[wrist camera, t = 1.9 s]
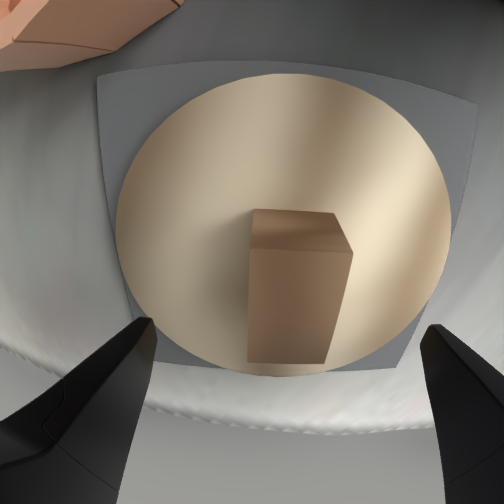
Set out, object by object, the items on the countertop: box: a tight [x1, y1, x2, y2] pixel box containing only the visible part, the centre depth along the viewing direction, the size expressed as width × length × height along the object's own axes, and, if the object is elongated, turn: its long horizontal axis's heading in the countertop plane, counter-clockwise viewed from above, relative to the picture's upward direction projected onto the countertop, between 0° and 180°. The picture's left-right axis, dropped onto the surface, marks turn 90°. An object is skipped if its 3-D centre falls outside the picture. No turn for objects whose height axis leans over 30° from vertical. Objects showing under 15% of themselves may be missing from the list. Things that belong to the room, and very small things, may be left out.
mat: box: [97, 60, 478, 372], centre depth 13 cm, size 16×16×1 cm
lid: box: [116, 74, 451, 377], centre depth 11 cm, size 15×15×4 cm
